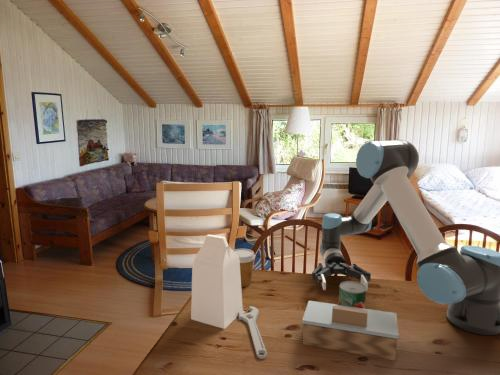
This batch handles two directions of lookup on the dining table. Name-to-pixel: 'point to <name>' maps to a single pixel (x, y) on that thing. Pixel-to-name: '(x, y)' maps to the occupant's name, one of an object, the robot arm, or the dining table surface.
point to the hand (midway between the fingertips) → (345, 286)
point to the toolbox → (350, 341)
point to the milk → (216, 283)
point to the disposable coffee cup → (245, 265)
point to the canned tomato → (352, 294)
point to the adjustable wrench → (254, 330)
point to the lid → (351, 319)
